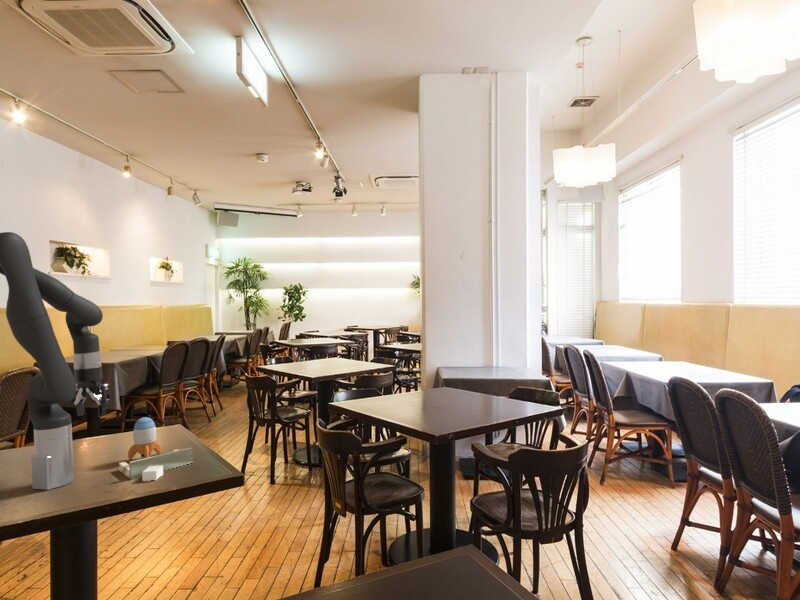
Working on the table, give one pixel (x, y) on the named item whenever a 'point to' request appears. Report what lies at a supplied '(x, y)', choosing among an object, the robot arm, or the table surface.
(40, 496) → the table surface
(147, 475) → the fin block
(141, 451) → the toy rocket
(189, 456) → the cradle
